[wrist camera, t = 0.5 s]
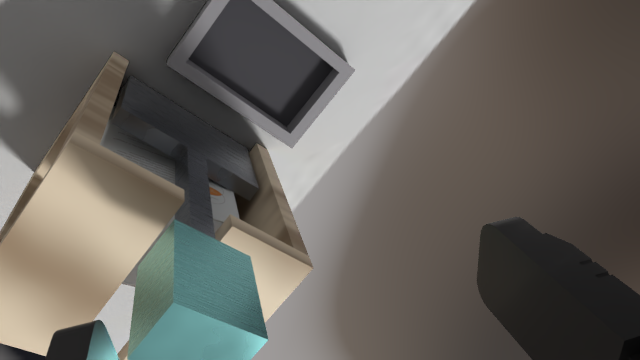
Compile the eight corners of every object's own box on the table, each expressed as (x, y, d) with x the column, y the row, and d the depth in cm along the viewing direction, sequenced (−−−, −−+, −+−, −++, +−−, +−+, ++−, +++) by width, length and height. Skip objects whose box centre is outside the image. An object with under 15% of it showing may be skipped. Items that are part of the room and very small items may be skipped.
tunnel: (114, 51, 29) (69, 141, 17) (267, 149, 35) (313, 268, 23) (34, 172, 31) (-55, 327, 19) (190, 246, 37) (196, 399, 25)
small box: (83, 172, 32) (47, 269, 23) (113, 102, 30) (86, 177, 21) (194, 209, 36) (200, 306, 27) (226, 148, 34) (243, 229, 25)
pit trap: (231, -35, 28) (234, -32, 27) (348, 64, 33) (355, 70, 32) (167, 58, 30) (166, 65, 29) (287, 139, 35) (291, 148, 33)
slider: (137, 65, 29) (80, 265, 12) (253, 140, 34) (329, 364, 17) (115, 97, 30) (33, 330, 13) (232, 166, 34) (286, 408, 17)
